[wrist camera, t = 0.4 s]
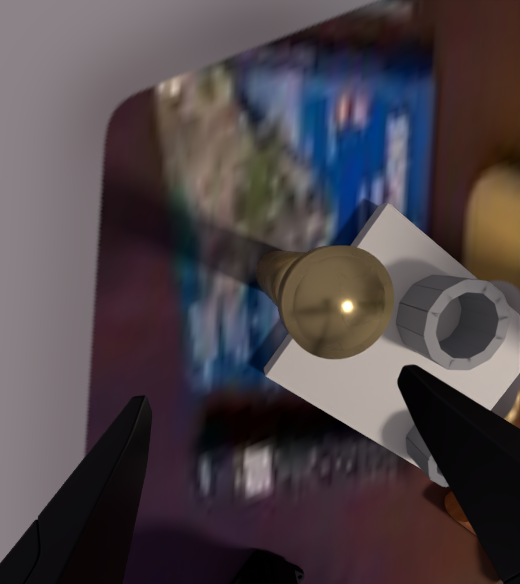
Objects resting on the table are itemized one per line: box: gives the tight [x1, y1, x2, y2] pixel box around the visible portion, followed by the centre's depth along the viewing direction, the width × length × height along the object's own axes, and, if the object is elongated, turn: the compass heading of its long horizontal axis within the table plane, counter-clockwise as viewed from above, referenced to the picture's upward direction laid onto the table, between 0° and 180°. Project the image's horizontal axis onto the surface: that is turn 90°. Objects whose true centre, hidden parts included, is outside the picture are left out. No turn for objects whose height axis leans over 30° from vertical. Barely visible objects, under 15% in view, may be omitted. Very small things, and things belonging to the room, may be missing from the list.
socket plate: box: [264, 203, 520, 487], centre depth 24 cm, size 18×22×5 cm
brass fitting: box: [256, 246, 394, 359], centre depth 18 cm, size 5×5×13 cm
